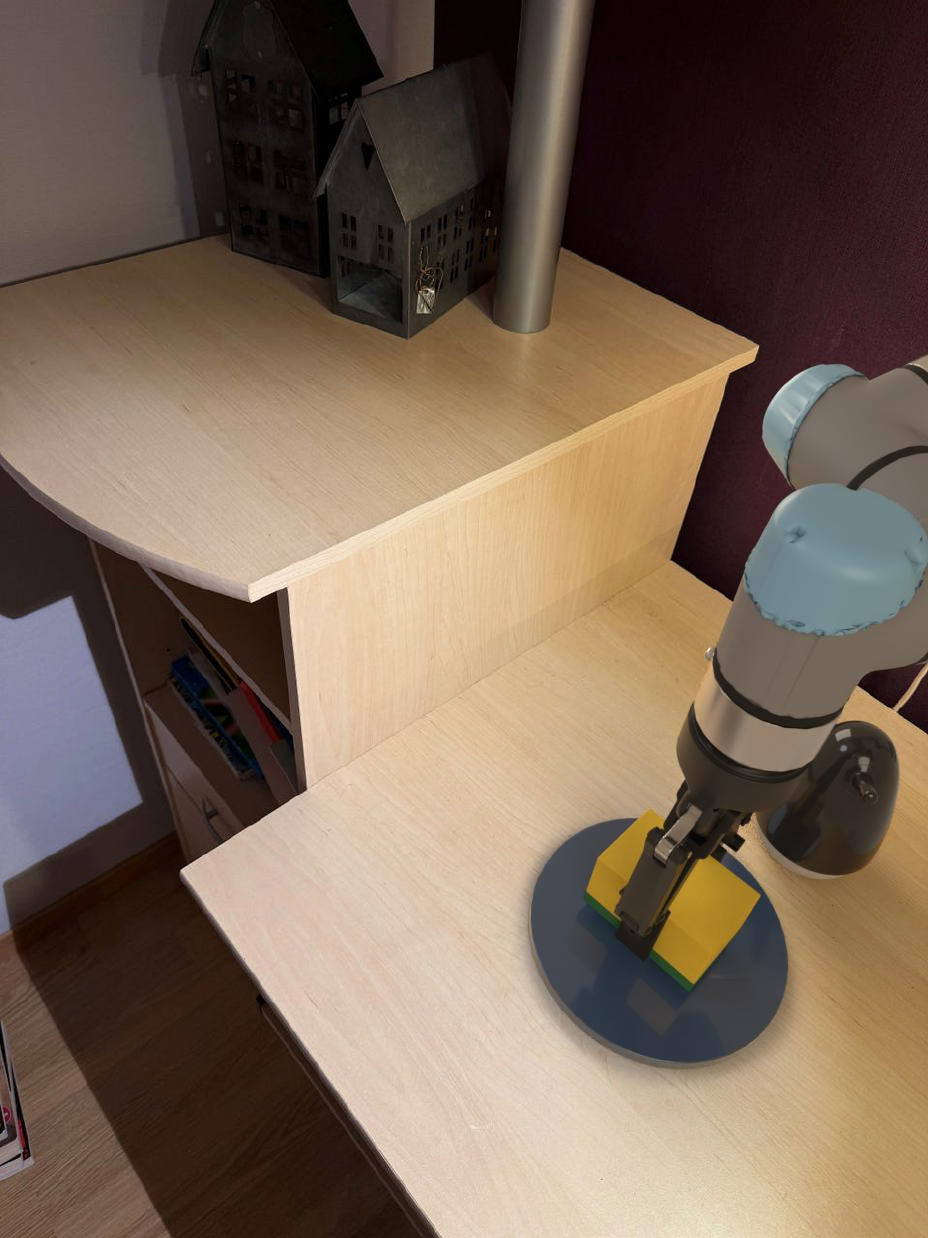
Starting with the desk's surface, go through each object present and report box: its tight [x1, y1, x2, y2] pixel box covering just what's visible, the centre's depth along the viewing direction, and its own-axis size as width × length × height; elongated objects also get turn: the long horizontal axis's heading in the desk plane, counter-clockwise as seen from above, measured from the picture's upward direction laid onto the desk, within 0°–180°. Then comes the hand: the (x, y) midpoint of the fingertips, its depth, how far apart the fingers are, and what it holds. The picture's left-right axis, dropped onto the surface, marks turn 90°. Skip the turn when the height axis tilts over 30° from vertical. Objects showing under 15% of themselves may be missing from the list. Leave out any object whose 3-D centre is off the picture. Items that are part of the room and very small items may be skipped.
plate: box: [528, 817, 789, 1070], centre depth 71 cm, size 20×20×1 cm
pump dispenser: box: [754, 719, 901, 880], centre depth 73 cm, size 10×10×15 cm
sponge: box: [583, 807, 761, 991], centre depth 68 cm, size 10×6×6 cm, turn 45°
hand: (659, 914), depth 70 cm, fingers closed on sponge, 6 cm apart
